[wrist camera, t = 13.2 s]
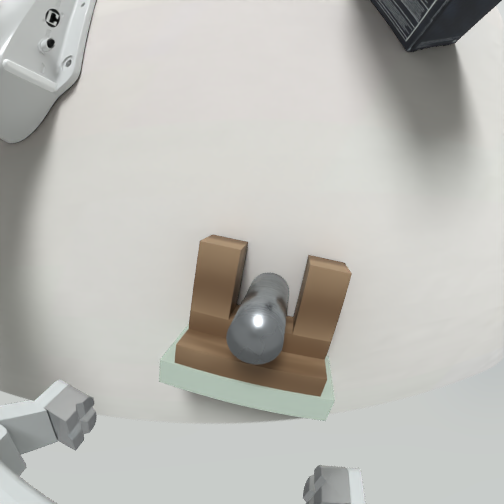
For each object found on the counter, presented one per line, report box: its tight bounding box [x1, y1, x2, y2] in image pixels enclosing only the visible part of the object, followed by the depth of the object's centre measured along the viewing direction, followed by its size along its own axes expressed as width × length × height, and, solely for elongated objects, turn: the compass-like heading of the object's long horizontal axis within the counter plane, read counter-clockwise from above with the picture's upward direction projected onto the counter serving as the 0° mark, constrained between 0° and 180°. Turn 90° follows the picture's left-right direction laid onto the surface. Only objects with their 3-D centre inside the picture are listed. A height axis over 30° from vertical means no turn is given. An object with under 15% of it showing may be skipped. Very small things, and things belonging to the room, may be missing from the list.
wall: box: [159, 324, 335, 421], centre depth 21 cm, size 2×12×6 cm, turn 79°
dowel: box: [226, 273, 289, 364], centre depth 19 cm, size 3×3×8 cm
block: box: [175, 235, 351, 397], centre depth 20 cm, size 8×10×6 cm
